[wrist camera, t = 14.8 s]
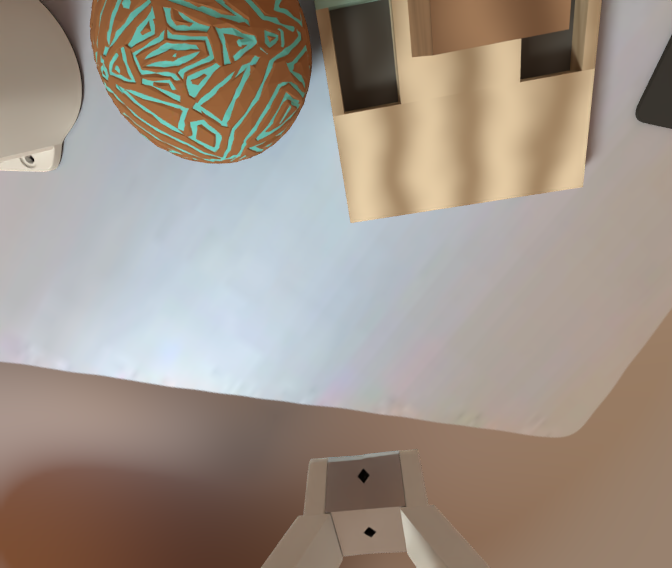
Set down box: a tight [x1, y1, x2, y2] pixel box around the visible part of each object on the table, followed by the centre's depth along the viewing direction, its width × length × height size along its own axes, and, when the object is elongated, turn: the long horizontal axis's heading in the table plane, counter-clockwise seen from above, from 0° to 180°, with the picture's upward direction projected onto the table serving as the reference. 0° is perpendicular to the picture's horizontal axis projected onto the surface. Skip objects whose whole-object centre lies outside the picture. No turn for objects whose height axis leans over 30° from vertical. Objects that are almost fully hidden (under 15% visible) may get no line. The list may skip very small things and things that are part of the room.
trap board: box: [314, 0, 602, 223], centre depth 36 cm, size 22×24×2 cm
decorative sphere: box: [90, 0, 312, 164], centre depth 30 cm, size 15×15×15 cm
